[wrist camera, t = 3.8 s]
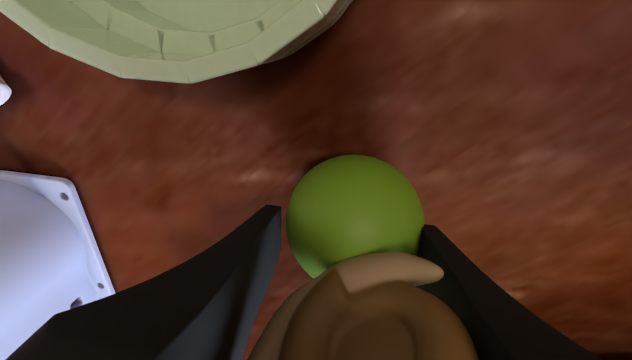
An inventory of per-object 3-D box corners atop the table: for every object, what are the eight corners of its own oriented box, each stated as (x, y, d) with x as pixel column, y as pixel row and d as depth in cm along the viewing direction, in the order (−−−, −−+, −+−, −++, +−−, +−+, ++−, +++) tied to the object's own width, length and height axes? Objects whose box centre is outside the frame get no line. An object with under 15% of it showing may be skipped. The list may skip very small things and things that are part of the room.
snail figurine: (260, 172, 14) (-30, 627, 3) (384, 116, 12) (690, 751, 1) (311, 250, 16) (238, 692, 5) (423, 213, 14) (673, 778, 3)
